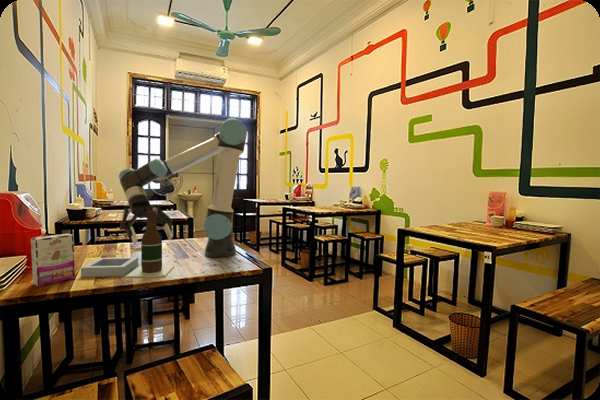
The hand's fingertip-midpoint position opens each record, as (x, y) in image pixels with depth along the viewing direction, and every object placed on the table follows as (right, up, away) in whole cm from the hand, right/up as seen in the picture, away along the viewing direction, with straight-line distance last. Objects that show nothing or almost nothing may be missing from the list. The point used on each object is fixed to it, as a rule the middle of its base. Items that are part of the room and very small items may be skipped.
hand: (154, 240), depth 122 cm
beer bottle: (-2, -13, +2) cm, 13 cm away
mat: (-2, -13, +2) cm, 13 cm away
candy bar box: (-30, -14, -11) cm, 35 cm away
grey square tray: (-18, -13, +3) cm, 22 cm away
